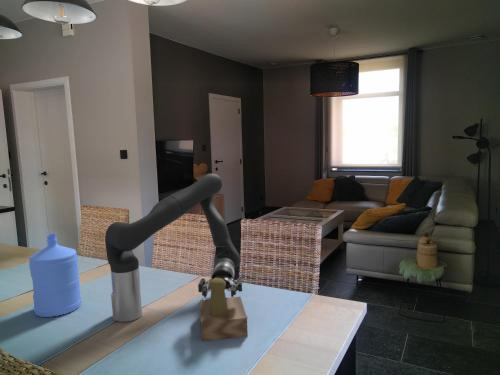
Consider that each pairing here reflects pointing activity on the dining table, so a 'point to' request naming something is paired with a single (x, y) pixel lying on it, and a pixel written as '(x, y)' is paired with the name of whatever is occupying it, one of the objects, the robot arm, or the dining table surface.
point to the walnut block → (224, 321)
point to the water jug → (55, 279)
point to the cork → (218, 298)
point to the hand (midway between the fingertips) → (218, 294)
